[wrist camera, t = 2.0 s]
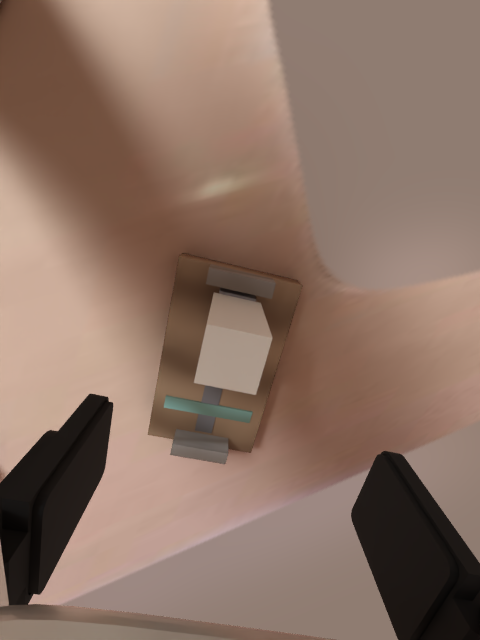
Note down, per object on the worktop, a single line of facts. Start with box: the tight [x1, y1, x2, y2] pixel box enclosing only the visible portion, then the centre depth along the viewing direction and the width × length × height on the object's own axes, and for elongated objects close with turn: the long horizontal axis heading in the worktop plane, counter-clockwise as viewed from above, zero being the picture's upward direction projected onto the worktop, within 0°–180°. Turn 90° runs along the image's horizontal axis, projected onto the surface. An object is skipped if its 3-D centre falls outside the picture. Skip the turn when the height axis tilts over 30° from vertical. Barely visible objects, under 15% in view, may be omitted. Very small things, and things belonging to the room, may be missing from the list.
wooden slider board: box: [148, 253, 303, 464], centre depth 27 cm, size 17×10×4 cm, turn 166°
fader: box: [194, 287, 272, 395], centre depth 21 cm, size 4×4×9 cm
